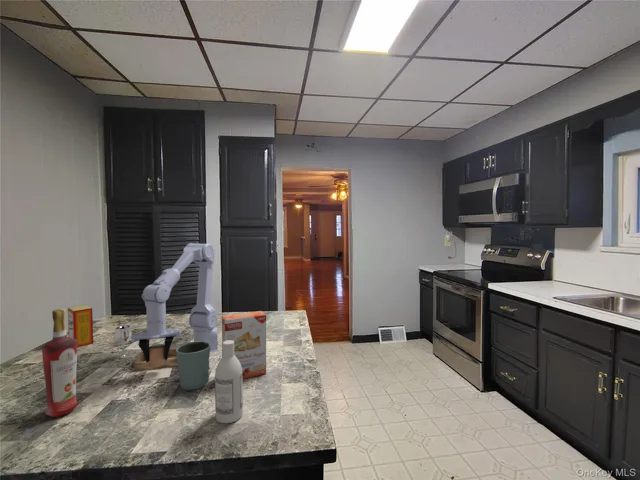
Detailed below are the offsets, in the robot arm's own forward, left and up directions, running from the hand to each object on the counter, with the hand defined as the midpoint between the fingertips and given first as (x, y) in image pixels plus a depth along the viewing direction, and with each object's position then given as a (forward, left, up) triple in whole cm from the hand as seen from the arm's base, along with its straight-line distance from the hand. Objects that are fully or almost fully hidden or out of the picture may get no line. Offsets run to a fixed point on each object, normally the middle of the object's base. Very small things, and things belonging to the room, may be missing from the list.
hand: (157, 359), depth 104 cm
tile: (0, 0, -6) cm, 6 cm away
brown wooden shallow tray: (0, -11, -6) cm, 12 cm away
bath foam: (-22, +31, -6) cm, 39 cm away
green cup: (-12, +9, -6) cm, 16 cm away
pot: (0, 0, -2) cm, 2 cm away
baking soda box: (+37, -45, -6) cm, 58 cm away
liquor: (+21, +14, -6) cm, 26 cm away
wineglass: (+15, -21, -6) cm, 26 cm away
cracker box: (-28, +9, -6) cm, 30 cm away
